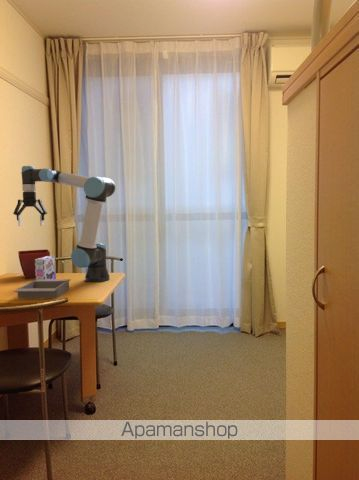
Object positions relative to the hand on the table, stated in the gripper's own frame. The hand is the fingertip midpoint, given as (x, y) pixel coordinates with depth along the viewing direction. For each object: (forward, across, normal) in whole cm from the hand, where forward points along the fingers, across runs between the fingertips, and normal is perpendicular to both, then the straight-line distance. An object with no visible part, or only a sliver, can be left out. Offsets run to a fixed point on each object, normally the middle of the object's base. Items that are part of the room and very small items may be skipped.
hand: (31, 225), depth 233 cm
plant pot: (+35, +5, -14) cm, 38 cm away
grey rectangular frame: (+35, -20, +34) cm, 53 cm away
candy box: (+35, -12, +11) cm, 39 cm away
